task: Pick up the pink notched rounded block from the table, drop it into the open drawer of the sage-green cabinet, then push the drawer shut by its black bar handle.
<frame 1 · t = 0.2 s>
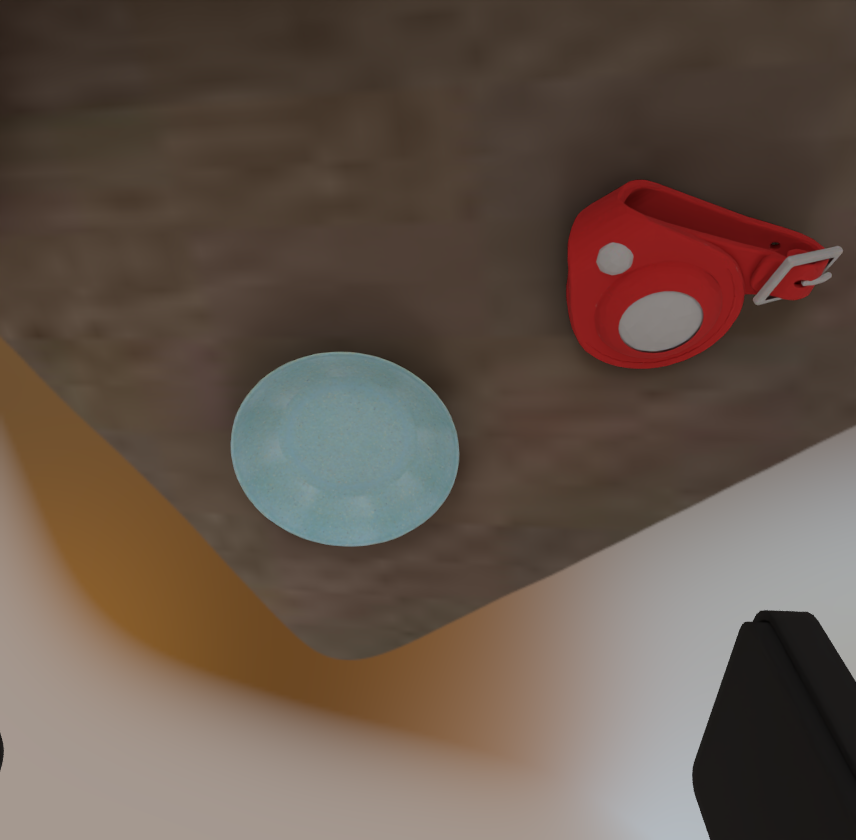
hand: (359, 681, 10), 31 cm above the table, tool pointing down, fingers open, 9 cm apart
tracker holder: (678, 275, 40), on the table
saucer: (348, 432, 45), on the table
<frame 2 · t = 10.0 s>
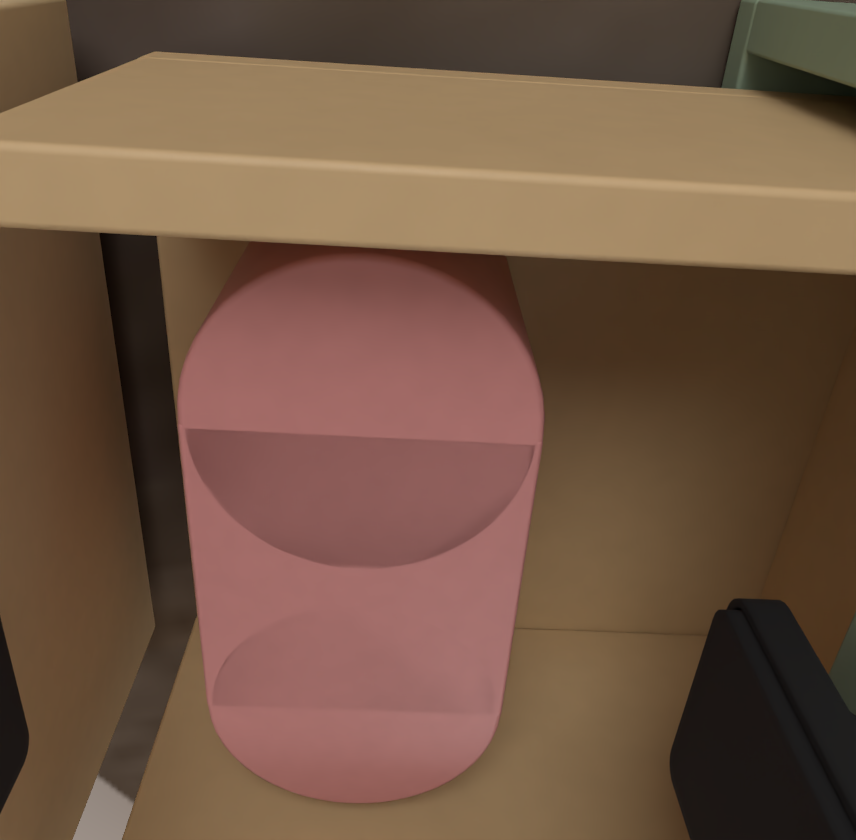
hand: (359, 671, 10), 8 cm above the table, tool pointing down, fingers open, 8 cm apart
pink notched rounded block: (374, 415, 15), point 2 cm above the table, touching drawer
drawer: (312, 491, 13), point 5 cm above the table, slide at 10.9 cm, touching pink notched rounded block
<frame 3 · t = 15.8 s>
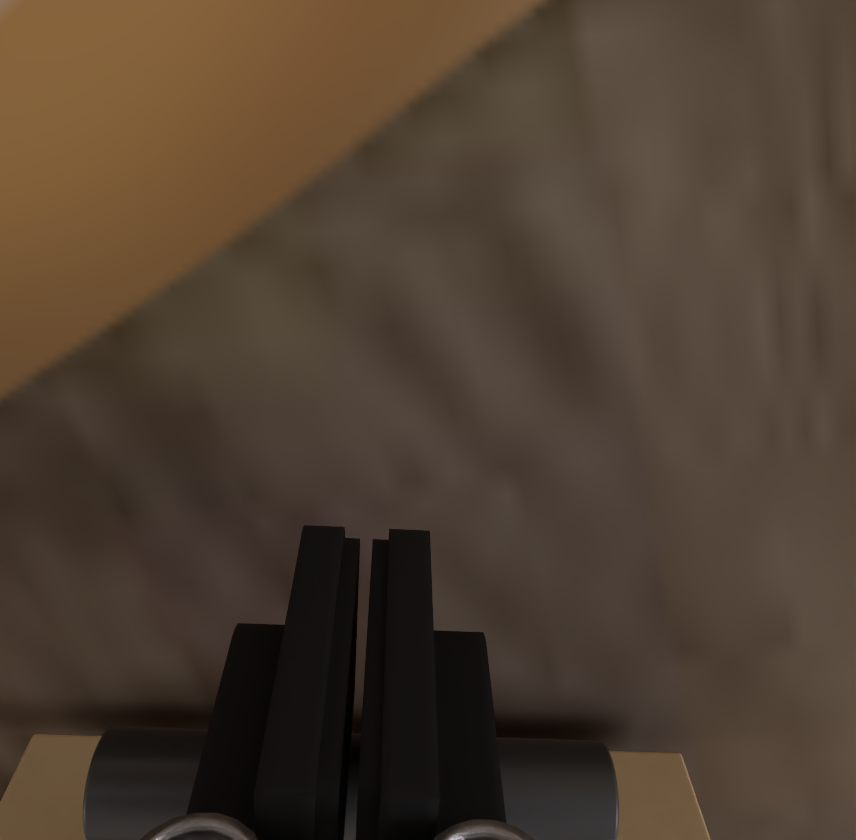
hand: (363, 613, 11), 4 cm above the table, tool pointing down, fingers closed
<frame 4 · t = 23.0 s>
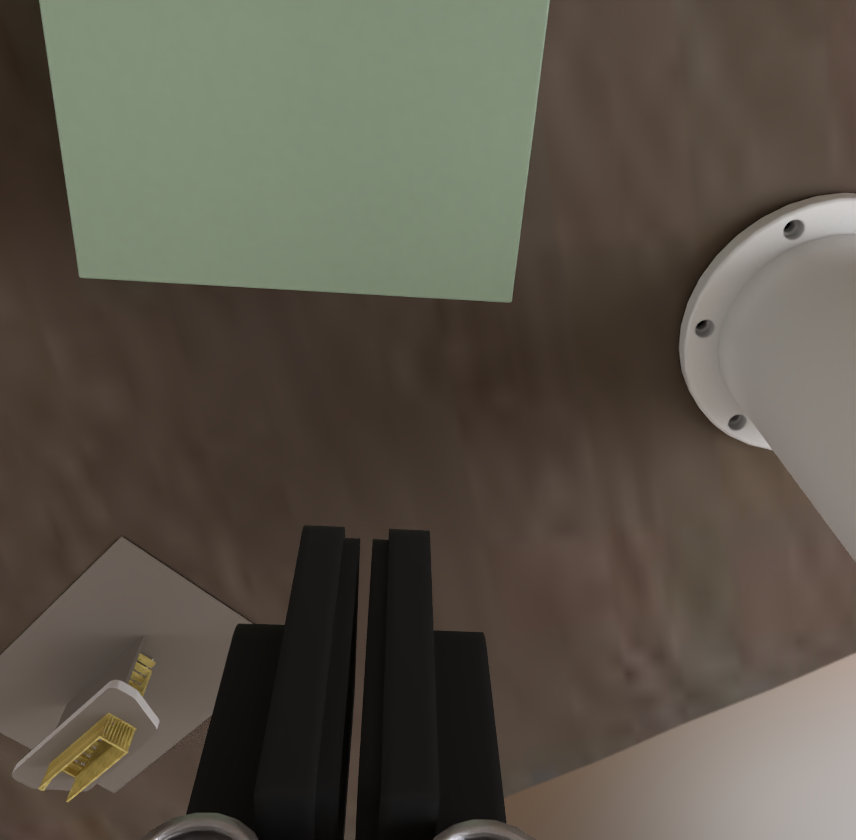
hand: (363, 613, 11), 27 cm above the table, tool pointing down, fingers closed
platform: (118, 675, 49), on the table
cabinet: (323, 4, 32), on the table
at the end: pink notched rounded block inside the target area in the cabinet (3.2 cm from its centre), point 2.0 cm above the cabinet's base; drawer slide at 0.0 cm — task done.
